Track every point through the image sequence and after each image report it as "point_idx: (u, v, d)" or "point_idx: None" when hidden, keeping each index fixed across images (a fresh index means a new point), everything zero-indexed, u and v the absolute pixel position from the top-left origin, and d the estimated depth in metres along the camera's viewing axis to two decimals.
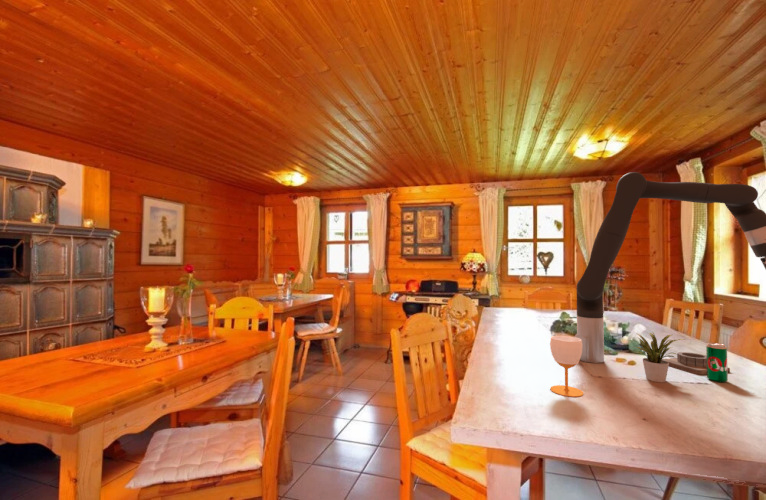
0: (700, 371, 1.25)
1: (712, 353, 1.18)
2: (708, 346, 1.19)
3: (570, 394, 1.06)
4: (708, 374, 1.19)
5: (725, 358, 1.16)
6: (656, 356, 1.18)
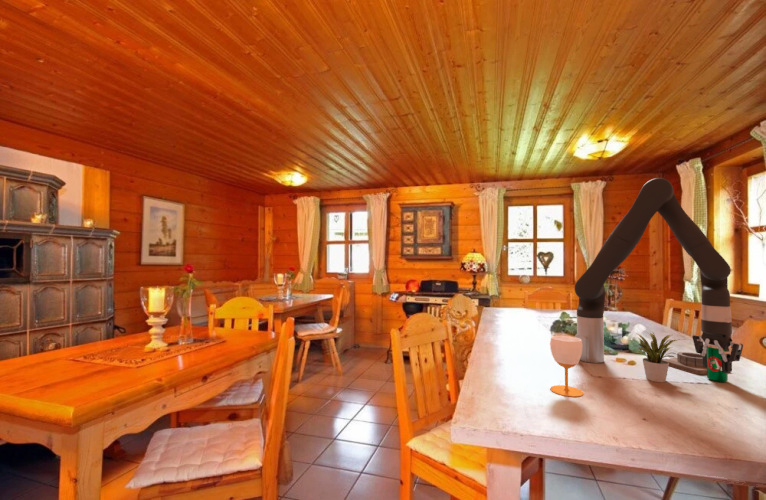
0: (700, 371, 1.25)
1: (712, 353, 1.18)
2: (708, 346, 1.19)
3: (570, 394, 1.06)
4: (708, 374, 1.19)
5: None
6: (656, 356, 1.18)
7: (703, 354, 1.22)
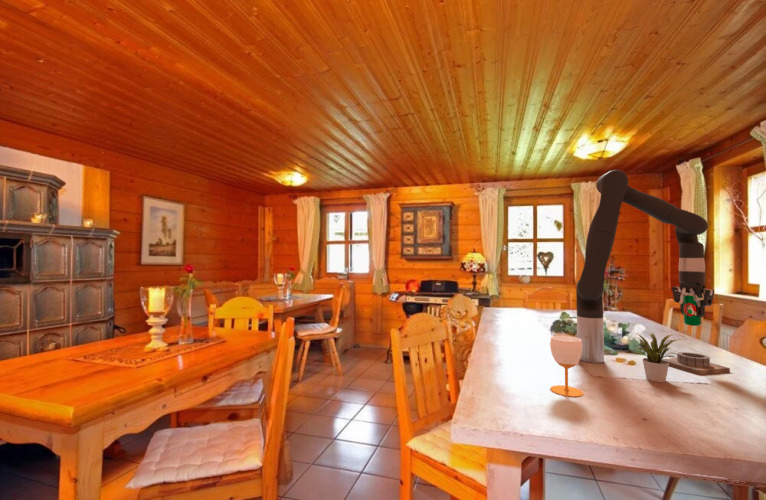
0: (700, 371, 1.25)
1: (688, 300, 1.32)
2: (685, 294, 1.34)
3: (570, 394, 1.06)
4: (684, 319, 1.33)
5: None
6: (656, 356, 1.18)
7: (680, 302, 1.36)
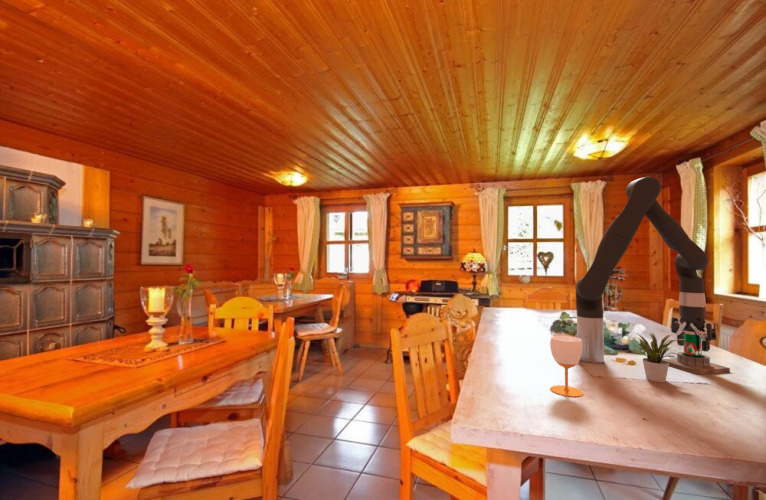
0: (700, 371, 1.25)
1: (688, 339, 1.32)
2: (685, 333, 1.33)
3: (570, 394, 1.06)
4: None
5: (699, 343, 1.31)
6: (656, 356, 1.18)
7: (677, 333, 1.37)
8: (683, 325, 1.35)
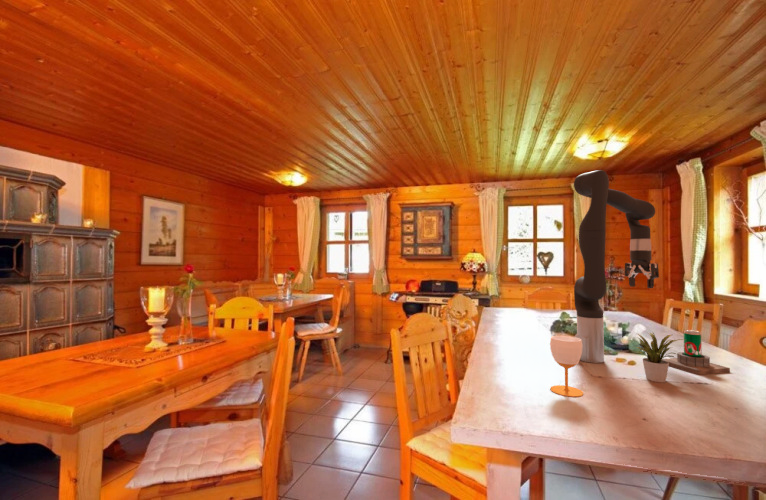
0: (700, 371, 1.25)
1: (688, 339, 1.32)
2: (685, 333, 1.34)
3: (570, 394, 1.06)
4: None
5: (699, 343, 1.31)
6: (656, 356, 1.18)
7: (629, 276, 1.58)
8: (633, 268, 1.56)
